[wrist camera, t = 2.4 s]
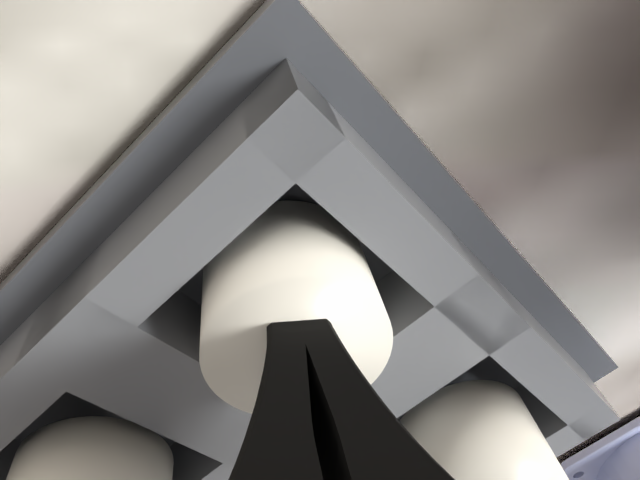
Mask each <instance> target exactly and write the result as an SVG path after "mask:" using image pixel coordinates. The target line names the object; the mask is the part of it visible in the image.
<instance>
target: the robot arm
mask: <svg viewBox="0 0 640 480" xmlns="http://www.w3.org/2000/svg"><path fill="white" fill-rule="evenodd" d="M560 465H561V467H562V468H563V470H564V472H565V473H566V475H567V477H568V478H569V480H640V416H639V417H637V418H636V419H634V420H632V421H631V422H629V423H627V424H625V425H624V426H622V427H620V428H619V429H617V430H615V431H614V432H612V433H610V434H608V435H607V436H605V437H603V438H602V439H600V440H598V441H597V442H595V443H593V444H591V445H590V446H588V447H586V448H585V449H583V450H581V451H580V452H578V453H576V454H574V455H573V456H571V457H569V458H568V459H566V460H564V461H563V462H562V463H561V464H560ZM229 480H455V479H454V478H453V477H452V476H451V475H450V474H449V473H448V472H447V471H446V470H445V469H444V468H442V467H441V466H440V465H439V464H438V463H437V462H436V461H435V460H434V459H433V458H432V457H431V456H430V454H429V453H428V452H427V451H426V450H425V449H424V448H423V447H422V446H421V445H420V444H419V443H418V442H417V441H416V440H415V439H414V437H413V436H412V435H411V434H410V433H409V432H408V431H407V430H406V428H405V427H404V426H403V425H402V424H401V423H400V421H399V420H398V419H397V418H396V417H395V415H394V414H393V413H392V412H391V411H390V409H389V408H388V407H387V406H386V404H385V403H384V402H383V401H382V399H381V398H380V397H379V395H378V394H377V393H376V391H375V390H374V389H373V387H372V386H371V385H370V383H369V382H368V381H367V379H366V378H365V376H364V375H363V374H362V372H361V371H360V369H359V368H358V366H357V365H356V364H355V362H354V361H353V359H352V357H351V356H350V354H349V353H348V351H347V350H346V348H345V347H344V345H343V343H342V342H341V340H340V338H339V337H338V335H337V333H336V331H335V329H334V328H333V326H332V324H331V322H330V321H329V320H327V319H313V320H300V321H286V322H272V323H270V324H269V325H268V326H267V348H266V357H265V363H264V369H263V373H262V378H261V382H260V386H259V390H258V395H257V399H256V402H255V406H254V409H253V412H252V416H251V419H250V422H249V425H248V428H247V432H246V435H245V438H244V440H243V443H242V446H241V449H240V452H239V454H238V457H237V460H236V462H235V465H234V467H233V470H232V472H231V475H230V477H229Z"/></svg>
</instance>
